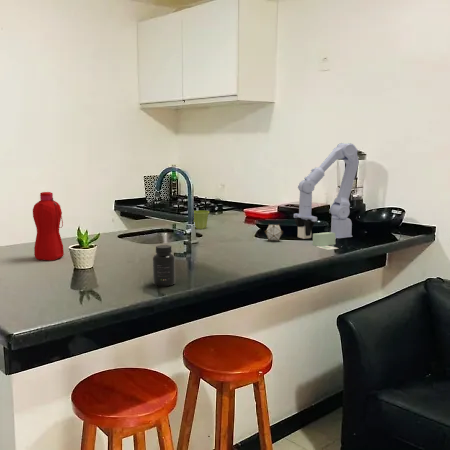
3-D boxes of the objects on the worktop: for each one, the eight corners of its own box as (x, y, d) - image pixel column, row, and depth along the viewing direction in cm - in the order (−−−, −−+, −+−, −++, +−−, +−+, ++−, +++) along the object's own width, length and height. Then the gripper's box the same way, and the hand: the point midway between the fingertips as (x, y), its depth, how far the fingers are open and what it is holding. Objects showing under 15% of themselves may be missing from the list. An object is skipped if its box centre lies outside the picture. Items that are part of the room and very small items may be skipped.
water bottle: (56, 262, 186) (53, 193, 182) (31, 260, 189) (27, 192, 185) (71, 257, 195) (68, 191, 191) (46, 255, 198) (43, 190, 194)
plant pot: (209, 229, 259) (209, 212, 258) (190, 229, 260) (190, 212, 258) (209, 226, 269) (209, 210, 267) (192, 226, 269) (192, 210, 267)
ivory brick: (304, 236, 243) (305, 226, 242) (311, 238, 239) (311, 227, 238) (297, 237, 241) (297, 226, 240) (303, 238, 237) (304, 228, 236)
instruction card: (325, 245, 222) (325, 244, 222) (338, 248, 215) (338, 248, 215) (315, 246, 219) (315, 246, 219) (328, 250, 212) (328, 249, 212)
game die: (276, 248, 233) (287, 230, 234) (276, 245, 224) (288, 226, 226) (259, 238, 234) (271, 220, 236) (259, 234, 226) (271, 216, 227)
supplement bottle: (153, 281, 162) (153, 244, 160) (175, 281, 162) (175, 243, 160) (152, 287, 155) (151, 248, 153) (175, 286, 155) (174, 248, 154)
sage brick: (328, 243, 227) (328, 232, 227) (335, 244, 223) (335, 232, 223) (312, 245, 222) (312, 233, 222) (319, 246, 219) (319, 234, 218)
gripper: (288, 204, 242) (288, 233, 244) (309, 208, 229) (308, 237, 232) (300, 204, 245) (299, 231, 247) (320, 207, 233) (319, 236, 235)
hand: (304, 234), depth 240 cm, fingers closed on ivory brick, 4 cm apart
